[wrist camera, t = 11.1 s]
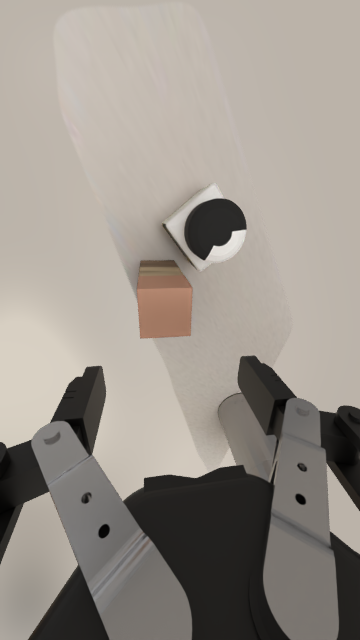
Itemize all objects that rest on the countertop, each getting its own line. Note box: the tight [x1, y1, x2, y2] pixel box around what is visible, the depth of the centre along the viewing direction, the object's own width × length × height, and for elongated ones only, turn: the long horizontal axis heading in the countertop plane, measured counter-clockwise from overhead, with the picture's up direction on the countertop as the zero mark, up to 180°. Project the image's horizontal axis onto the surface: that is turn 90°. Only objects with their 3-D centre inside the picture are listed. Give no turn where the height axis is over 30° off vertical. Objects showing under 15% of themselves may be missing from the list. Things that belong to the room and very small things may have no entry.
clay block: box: [137, 275, 192, 338], centre depth 23 cm, size 5×5×5 cm
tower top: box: [139, 267, 183, 276], centre depth 27 cm, size 5×5×5 cm
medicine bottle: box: [162, 183, 246, 272], centre depth 27 cm, size 7×7×12 cm
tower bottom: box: [140, 260, 178, 267], centre depth 32 cm, size 5×5×5 cm
